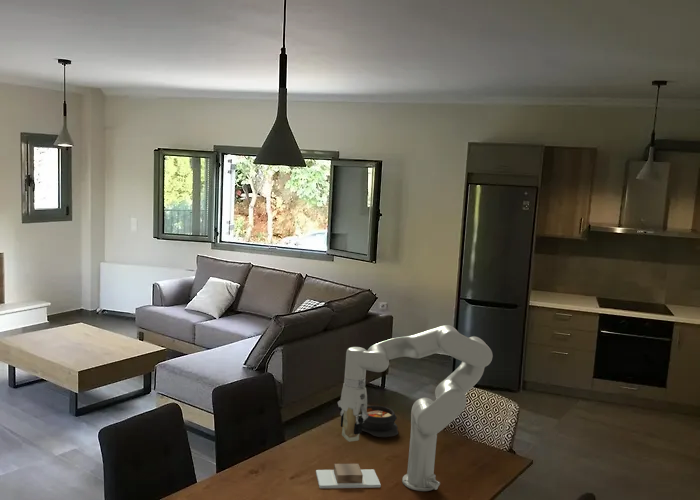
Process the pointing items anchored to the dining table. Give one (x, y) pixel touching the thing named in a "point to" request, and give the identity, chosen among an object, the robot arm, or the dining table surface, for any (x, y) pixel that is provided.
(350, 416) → the skincare box
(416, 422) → the robot arm
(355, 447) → the dining table surface
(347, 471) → the walnut plinth
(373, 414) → the casserole
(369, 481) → the white board
